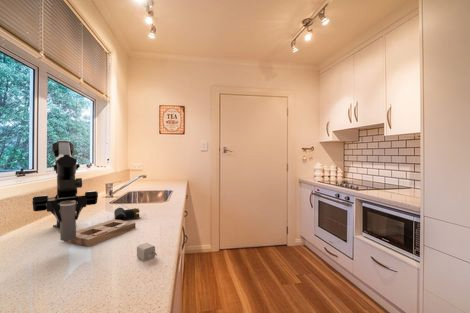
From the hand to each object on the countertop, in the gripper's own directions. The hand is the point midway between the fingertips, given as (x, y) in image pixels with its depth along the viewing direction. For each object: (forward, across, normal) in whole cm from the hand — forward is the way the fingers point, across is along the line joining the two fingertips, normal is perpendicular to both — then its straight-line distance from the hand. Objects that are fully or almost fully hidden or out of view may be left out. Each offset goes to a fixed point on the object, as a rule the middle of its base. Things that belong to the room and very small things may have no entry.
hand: (68, 220), depth 78 cm
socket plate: (-1, +12, +17) cm, 21 cm away
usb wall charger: (+24, +20, -8) cm, 32 cm away
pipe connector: (-13, +26, +29) cm, 41 cm away
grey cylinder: (+4, 0, +6) cm, 7 cm away
